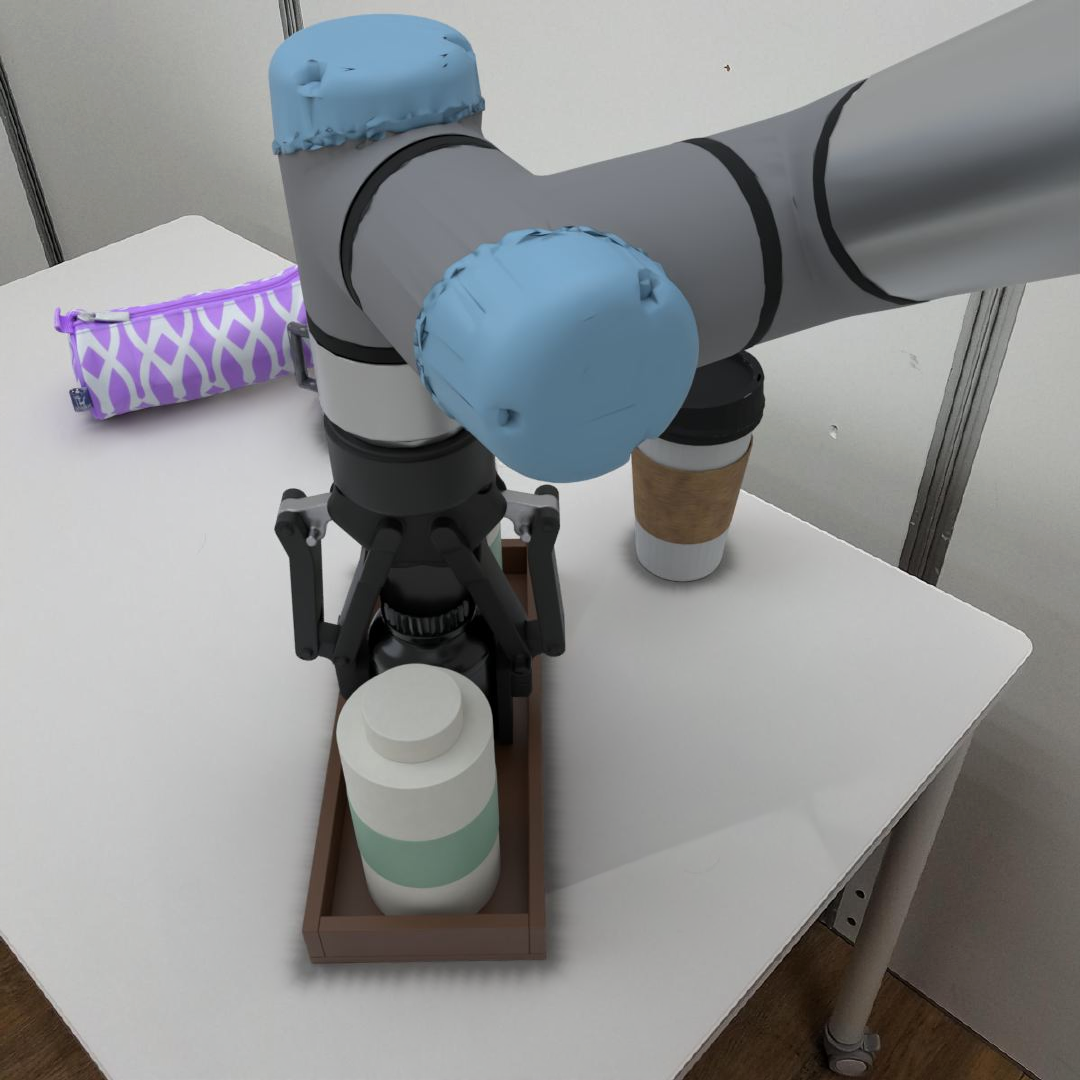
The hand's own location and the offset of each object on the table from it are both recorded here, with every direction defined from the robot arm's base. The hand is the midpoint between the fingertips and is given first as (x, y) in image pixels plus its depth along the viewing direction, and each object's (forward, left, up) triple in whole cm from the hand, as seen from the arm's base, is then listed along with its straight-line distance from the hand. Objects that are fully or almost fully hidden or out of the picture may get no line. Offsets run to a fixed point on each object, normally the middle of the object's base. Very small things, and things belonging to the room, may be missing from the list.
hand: (441, 725), depth 65 cm
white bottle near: (-8, +3, 0) cm, 9 cm away
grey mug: (+32, -4, -1) cm, 32 cm away
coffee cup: (+9, -20, -1) cm, 22 cm away
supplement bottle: (0, 0, -1) cm, 1 cm away
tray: (0, 0, -1) cm, 1 cm away
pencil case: (+42, +6, -1) cm, 42 cm away
